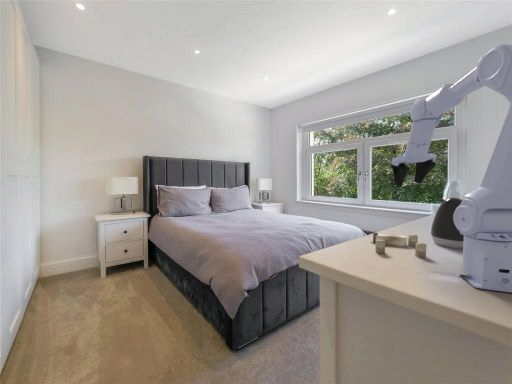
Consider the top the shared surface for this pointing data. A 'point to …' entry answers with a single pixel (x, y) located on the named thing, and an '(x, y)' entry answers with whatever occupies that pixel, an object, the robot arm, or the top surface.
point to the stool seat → (412, 242)
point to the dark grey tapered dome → (447, 225)
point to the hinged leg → (391, 239)
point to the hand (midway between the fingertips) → (407, 183)
